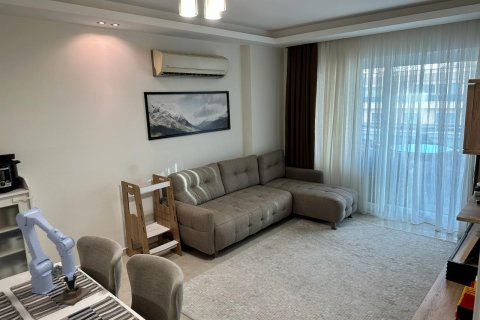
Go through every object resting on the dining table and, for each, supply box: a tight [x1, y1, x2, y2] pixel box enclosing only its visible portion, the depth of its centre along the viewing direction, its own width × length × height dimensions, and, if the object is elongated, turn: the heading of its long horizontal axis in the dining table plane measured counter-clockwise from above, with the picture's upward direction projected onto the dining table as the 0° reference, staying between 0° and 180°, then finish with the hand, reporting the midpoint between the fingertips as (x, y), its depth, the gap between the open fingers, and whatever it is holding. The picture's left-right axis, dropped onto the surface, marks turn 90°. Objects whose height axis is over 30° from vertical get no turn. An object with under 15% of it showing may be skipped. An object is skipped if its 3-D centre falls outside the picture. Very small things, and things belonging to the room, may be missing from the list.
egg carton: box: [51, 264, 64, 281], centre depth 181 cm, size 11×8×4 cm
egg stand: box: [53, 285, 92, 306], centre depth 161 cm, size 12×12×4 cm
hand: (71, 286), depth 161 cm, fingers closed on egg, 5 cm apart
